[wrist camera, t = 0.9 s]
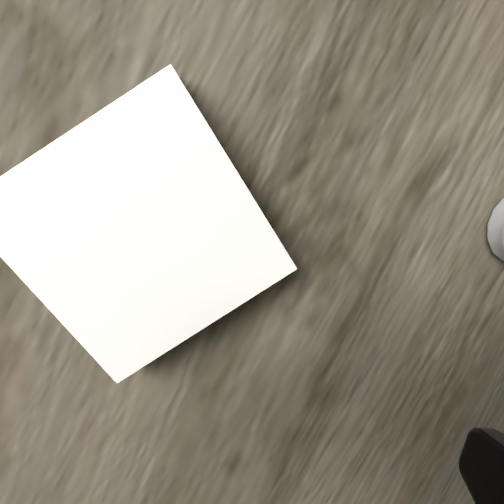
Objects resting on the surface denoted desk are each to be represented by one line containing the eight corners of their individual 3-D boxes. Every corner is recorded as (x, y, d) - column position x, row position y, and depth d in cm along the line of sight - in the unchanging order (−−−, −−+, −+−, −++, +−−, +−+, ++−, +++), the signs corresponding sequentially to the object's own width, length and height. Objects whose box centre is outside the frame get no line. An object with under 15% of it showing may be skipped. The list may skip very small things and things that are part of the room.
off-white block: (282, 250, 21) (297, 268, 18) (126, 350, 21) (116, 383, 19) (173, 74, 18) (170, 63, 15) (-9, 194, 18) (-46, 206, 15)
